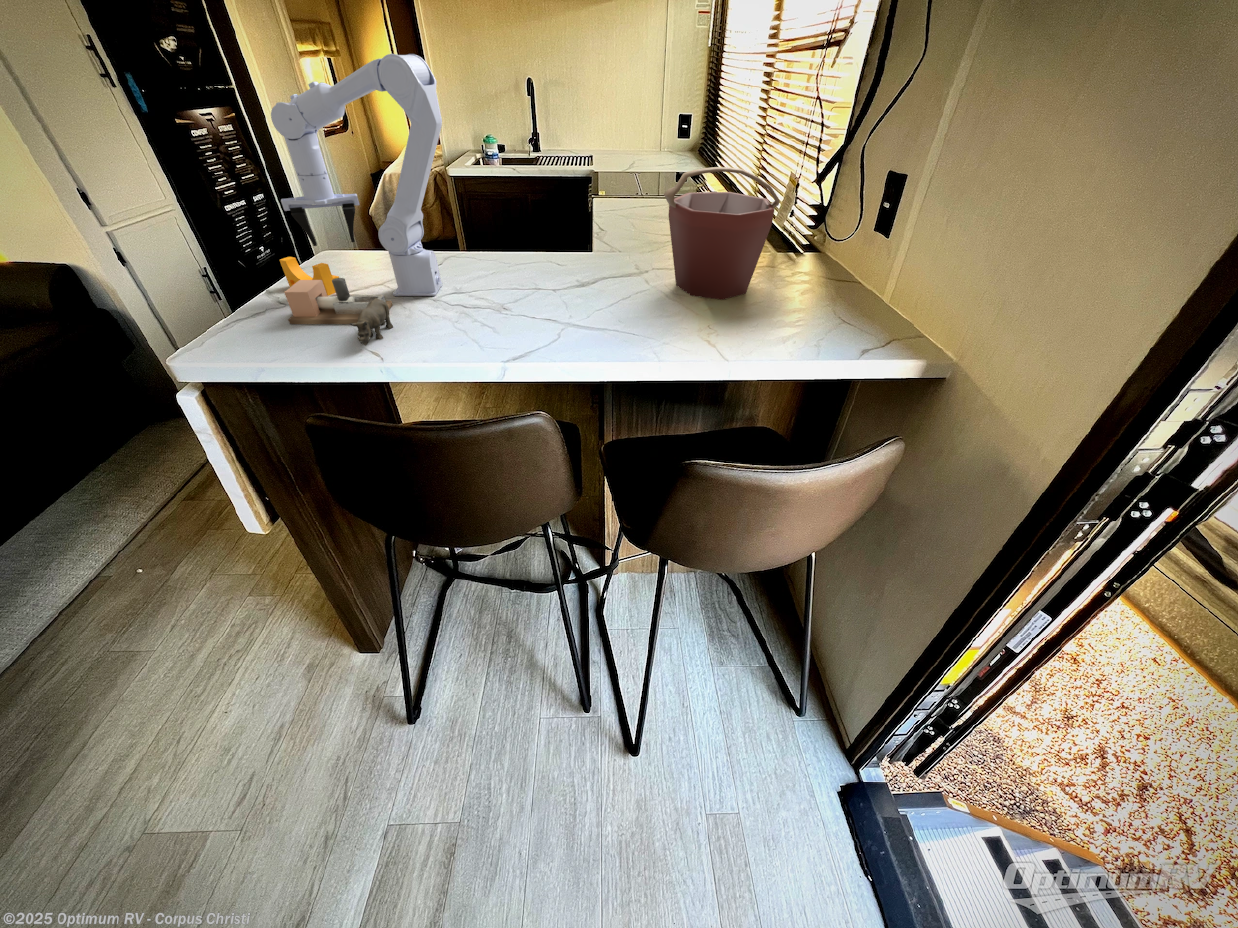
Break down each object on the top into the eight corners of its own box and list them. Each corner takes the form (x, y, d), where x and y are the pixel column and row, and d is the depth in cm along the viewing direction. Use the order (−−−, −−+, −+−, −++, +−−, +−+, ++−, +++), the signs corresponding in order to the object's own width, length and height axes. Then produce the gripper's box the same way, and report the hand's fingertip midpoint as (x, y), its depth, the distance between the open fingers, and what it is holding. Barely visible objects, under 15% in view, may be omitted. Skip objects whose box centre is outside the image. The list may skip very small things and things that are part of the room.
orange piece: (343, 290, 119) (334, 261, 115) (328, 296, 116) (318, 267, 112) (305, 282, 122) (295, 254, 118) (290, 288, 119) (279, 259, 115)
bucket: (650, 295, 119) (657, 173, 103) (671, 266, 135) (680, 157, 120) (758, 308, 113) (782, 182, 98) (766, 276, 130) (787, 164, 114)
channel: (386, 305, 109) (383, 295, 108) (379, 313, 105) (376, 303, 104) (344, 305, 109) (341, 295, 107) (336, 314, 105) (332, 303, 104)
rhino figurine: (350, 353, 94) (339, 322, 90) (377, 322, 105) (369, 293, 101) (372, 353, 94) (362, 322, 90) (397, 323, 105) (390, 294, 101)
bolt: (356, 306, 108) (347, 277, 104) (352, 310, 106) (343, 282, 102) (312, 306, 107) (302, 277, 104) (307, 310, 106) (297, 282, 102)
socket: (330, 303, 109) (321, 280, 106) (316, 316, 104) (307, 292, 101) (308, 303, 109) (299, 280, 106) (293, 316, 104) (284, 292, 101)
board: (392, 305, 112) (391, 300, 111) (377, 323, 104) (376, 319, 103) (310, 305, 111) (309, 300, 110) (289, 324, 103) (287, 319, 103)
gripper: (271, 179, 100) (297, 251, 108) (351, 174, 105) (370, 244, 113) (272, 173, 105) (298, 242, 113) (349, 169, 110) (368, 236, 118)
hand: (334, 243), depth 114 cm, fingers open, 7 cm apart
